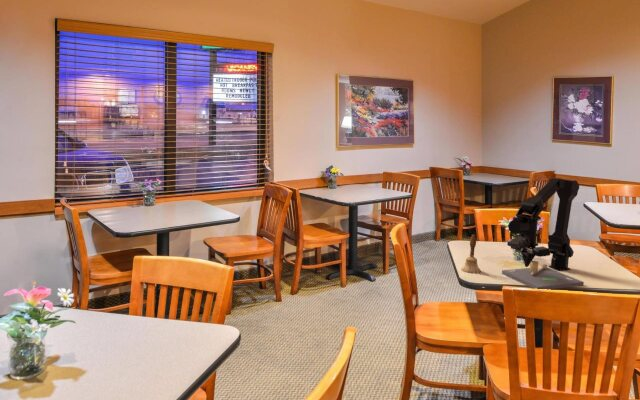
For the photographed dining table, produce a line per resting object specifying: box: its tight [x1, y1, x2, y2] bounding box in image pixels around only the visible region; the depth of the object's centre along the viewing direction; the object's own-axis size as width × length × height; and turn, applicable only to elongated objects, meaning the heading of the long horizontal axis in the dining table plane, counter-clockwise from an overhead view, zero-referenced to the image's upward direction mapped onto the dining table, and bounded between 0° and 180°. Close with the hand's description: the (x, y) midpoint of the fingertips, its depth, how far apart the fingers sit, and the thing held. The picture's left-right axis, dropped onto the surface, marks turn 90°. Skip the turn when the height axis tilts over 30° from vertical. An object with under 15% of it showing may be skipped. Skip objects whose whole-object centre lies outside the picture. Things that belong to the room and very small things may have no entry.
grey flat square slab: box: [501, 267, 585, 290], centre depth 211 cm, size 22×22×2 cm
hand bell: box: [460, 234, 482, 274], centre depth 221 cm, size 8×8×16 cm
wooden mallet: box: [529, 260, 548, 275], centre depth 216 cm, size 16×4×5 cm, turn 140°
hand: (526, 266), depth 214 cm, fingers closed
